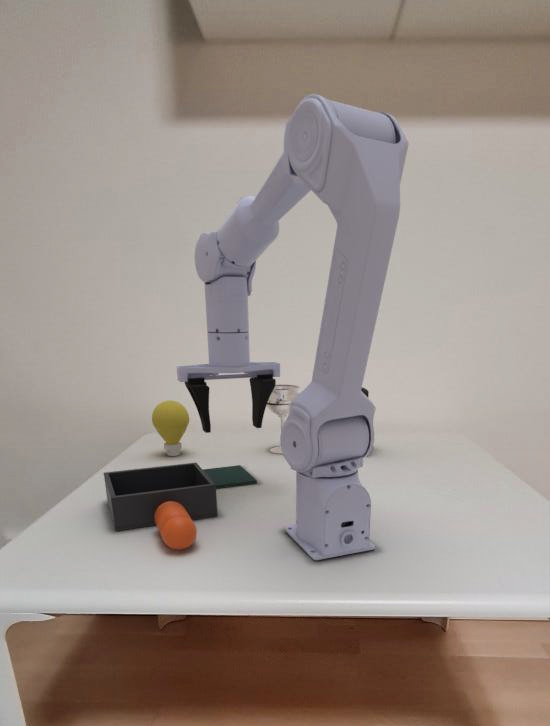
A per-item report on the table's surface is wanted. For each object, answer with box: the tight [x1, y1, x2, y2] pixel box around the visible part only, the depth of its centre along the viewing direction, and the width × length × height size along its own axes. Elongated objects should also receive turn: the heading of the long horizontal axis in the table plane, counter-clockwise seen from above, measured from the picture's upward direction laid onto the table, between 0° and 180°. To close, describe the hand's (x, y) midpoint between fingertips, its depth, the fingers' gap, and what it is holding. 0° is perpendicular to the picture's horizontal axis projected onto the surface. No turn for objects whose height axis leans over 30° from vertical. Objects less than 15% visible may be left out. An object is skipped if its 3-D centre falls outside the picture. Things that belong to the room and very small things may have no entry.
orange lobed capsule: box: [155, 501, 198, 551], centre depth 65 cm, size 9×4×4 cm, turn 23°
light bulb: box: [151, 400, 190, 457], centre depth 100 cm, size 7×7×10 cm
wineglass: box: [266, 384, 301, 455], centre depth 103 cm, size 7×7×12 cm
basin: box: [103, 462, 218, 532], centre depth 75 cm, size 11×13×4 cm
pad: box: [202, 464, 258, 489], centre depth 88 cm, size 9×10×1 cm
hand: (232, 429), depth 80 cm, fingers open, 7 cm apart
